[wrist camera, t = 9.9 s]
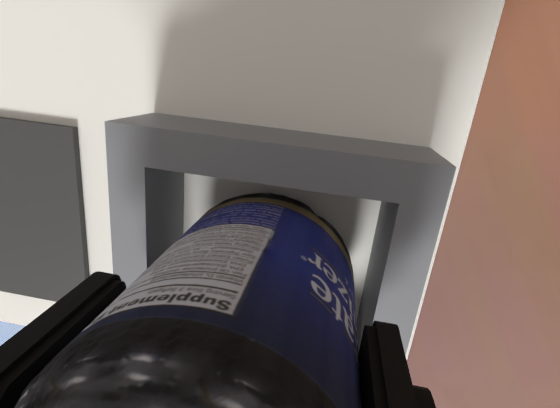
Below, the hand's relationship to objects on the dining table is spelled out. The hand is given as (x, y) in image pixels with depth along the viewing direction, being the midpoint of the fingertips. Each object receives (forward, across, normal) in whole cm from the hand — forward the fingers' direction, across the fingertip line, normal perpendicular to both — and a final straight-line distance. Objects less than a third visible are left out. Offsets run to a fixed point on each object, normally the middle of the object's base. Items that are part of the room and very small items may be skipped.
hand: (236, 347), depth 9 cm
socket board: (+7, +6, -2) cm, 9 cm away
